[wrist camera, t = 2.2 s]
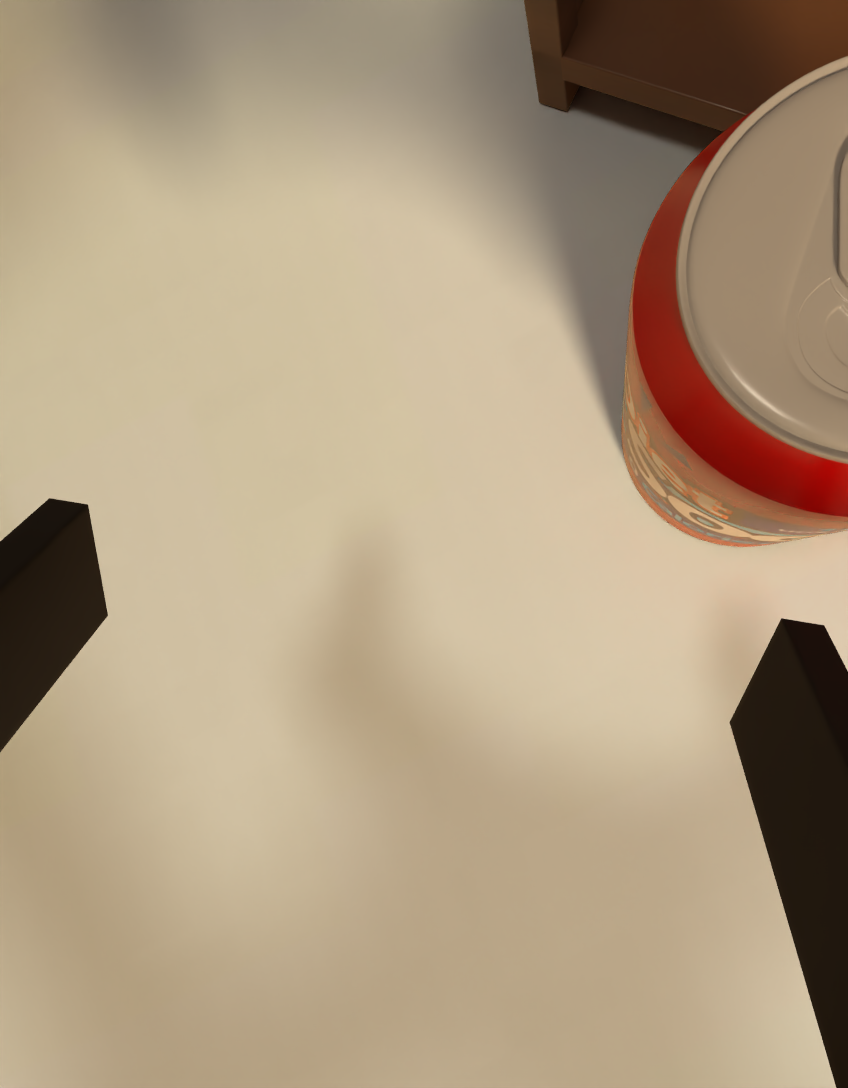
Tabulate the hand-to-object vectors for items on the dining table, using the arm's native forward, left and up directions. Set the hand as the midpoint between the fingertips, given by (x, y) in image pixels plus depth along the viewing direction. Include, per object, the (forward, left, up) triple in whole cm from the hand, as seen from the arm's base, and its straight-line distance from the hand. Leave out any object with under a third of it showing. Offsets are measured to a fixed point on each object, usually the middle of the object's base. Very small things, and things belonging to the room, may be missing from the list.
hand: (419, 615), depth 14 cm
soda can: (-1, +10, -14) cm, 17 cm away
